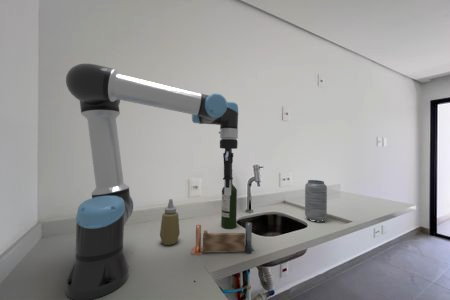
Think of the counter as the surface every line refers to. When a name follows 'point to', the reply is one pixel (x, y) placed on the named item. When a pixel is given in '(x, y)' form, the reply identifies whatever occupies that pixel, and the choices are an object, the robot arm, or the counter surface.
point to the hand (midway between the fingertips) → (227, 194)
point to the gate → (223, 242)
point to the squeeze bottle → (170, 225)
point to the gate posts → (247, 240)
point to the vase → (316, 200)
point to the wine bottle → (229, 208)
